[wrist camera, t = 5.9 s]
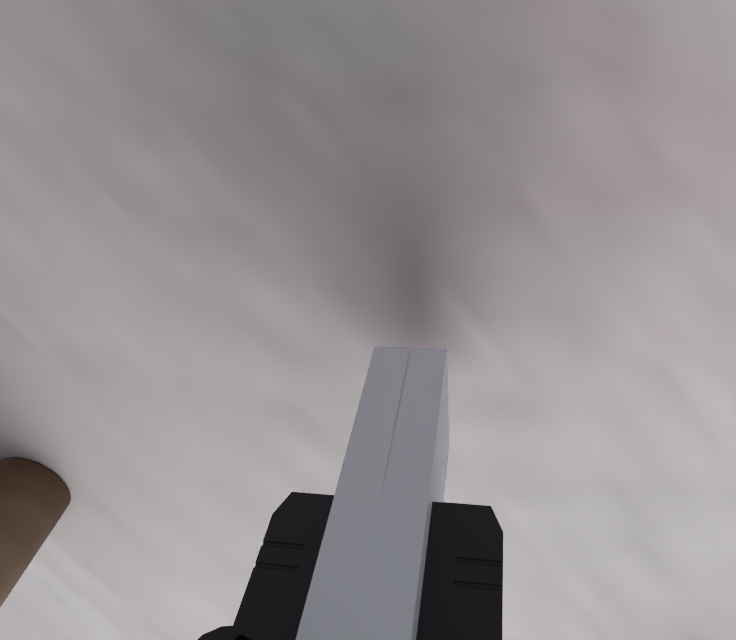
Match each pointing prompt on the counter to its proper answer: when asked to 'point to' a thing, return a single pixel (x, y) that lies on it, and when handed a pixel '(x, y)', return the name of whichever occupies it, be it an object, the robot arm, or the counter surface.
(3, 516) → the post
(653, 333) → the counter surface
